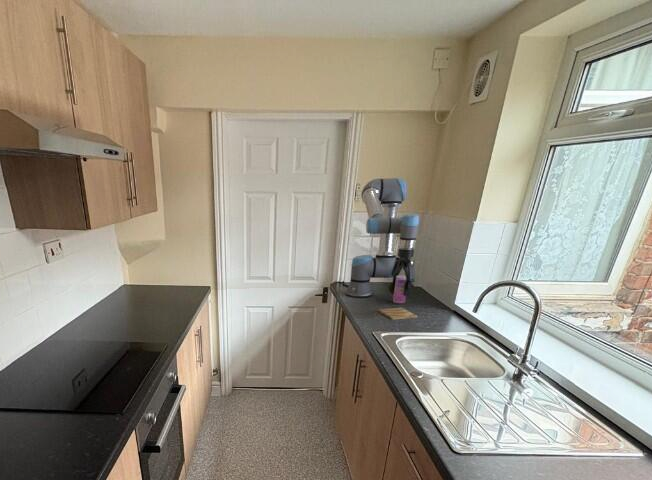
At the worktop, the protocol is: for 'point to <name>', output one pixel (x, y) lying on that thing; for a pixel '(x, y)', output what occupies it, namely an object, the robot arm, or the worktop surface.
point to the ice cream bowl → (392, 292)
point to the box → (399, 290)
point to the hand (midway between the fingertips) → (400, 292)
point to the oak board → (397, 313)
